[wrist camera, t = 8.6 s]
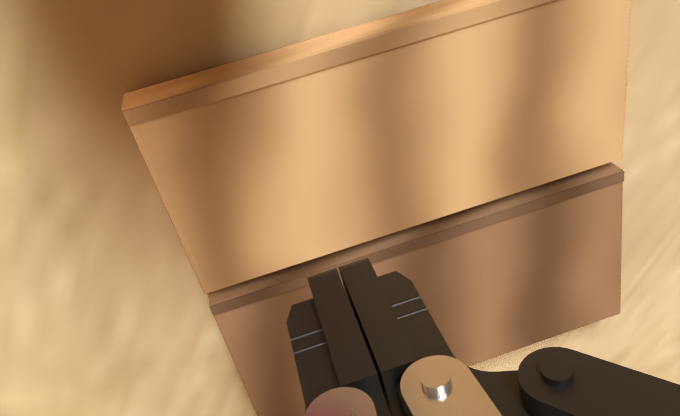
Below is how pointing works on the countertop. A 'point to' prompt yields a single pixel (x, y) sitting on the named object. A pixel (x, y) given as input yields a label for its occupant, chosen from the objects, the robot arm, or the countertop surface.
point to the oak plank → (381, 128)
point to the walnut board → (454, 280)
